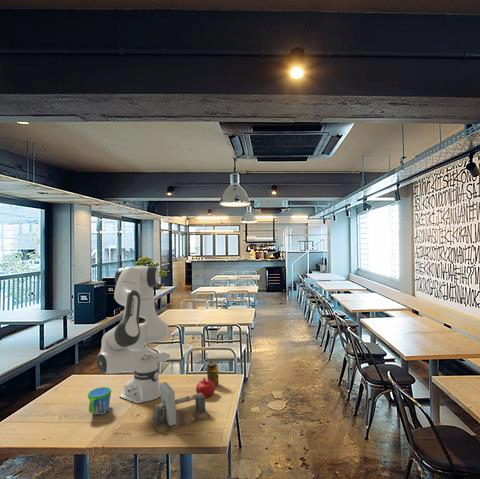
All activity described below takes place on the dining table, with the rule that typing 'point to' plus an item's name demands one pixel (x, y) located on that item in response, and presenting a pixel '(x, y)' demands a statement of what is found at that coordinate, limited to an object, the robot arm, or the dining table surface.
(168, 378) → the dining table surface
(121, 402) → the dining table surface
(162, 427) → the pipe rig
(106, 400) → the snack cup
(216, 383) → the condiment
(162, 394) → the grey slab
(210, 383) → the pomegranate
